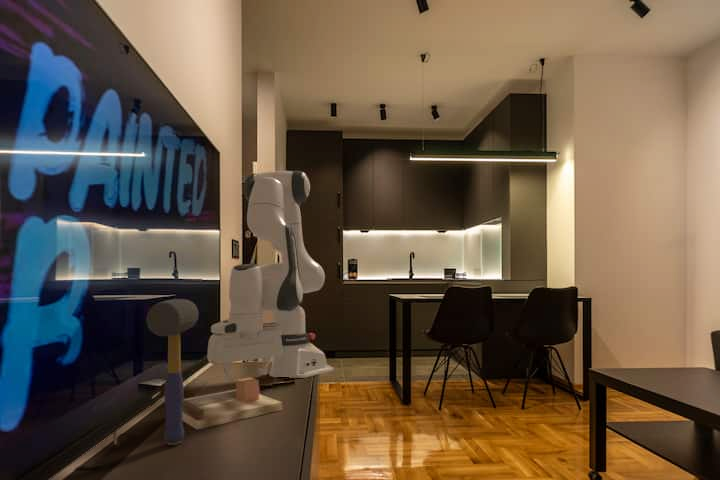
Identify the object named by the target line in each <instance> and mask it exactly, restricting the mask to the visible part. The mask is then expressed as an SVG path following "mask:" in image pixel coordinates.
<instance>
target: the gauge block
mask: <svg viewBox="0 0 720 480" xmlns="http://www.w3.org/2000/svg"><path fill="white" fill-rule="evenodd" d="M259 381H260V380H259V379H257V378H254V377H253V378H252V377H245V378H238V379H236V381H235V382H236V383H235V385H236V387H235V388H236V399H238V400H240V401H243V402H249V401H254V400H259V394H260V385H259V383H260V382H259Z"/></svg>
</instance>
